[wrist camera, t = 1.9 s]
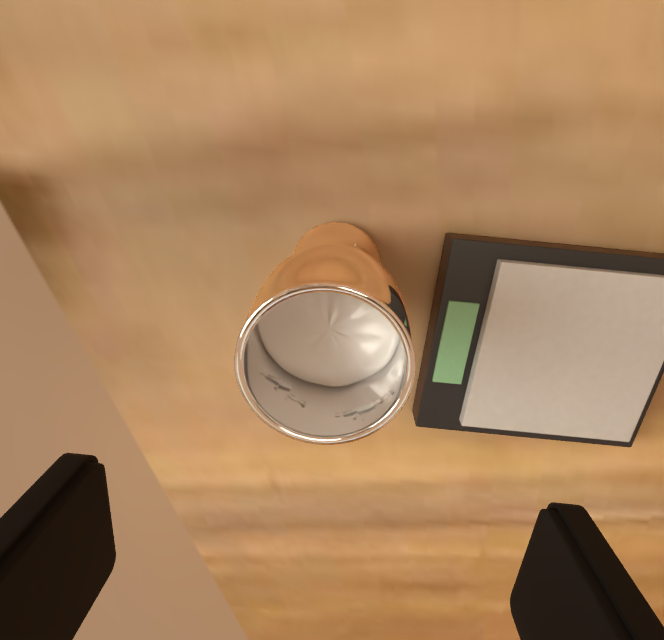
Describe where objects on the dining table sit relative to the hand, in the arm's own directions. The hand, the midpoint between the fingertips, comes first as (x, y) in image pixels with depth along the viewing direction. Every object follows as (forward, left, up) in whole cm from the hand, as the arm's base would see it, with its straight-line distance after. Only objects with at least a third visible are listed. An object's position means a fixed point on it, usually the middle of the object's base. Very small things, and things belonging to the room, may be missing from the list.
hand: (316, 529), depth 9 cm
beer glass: (0, 0, -22) cm, 22 cm away
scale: (+15, -4, -22) cm, 26 cm away
